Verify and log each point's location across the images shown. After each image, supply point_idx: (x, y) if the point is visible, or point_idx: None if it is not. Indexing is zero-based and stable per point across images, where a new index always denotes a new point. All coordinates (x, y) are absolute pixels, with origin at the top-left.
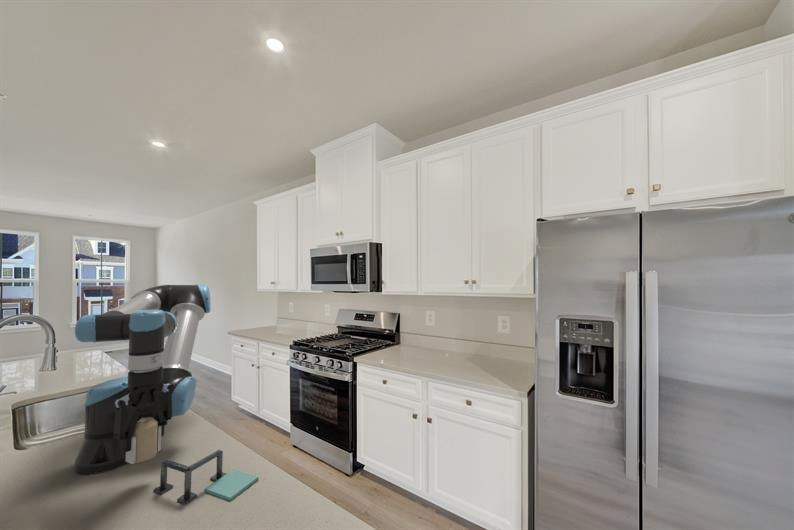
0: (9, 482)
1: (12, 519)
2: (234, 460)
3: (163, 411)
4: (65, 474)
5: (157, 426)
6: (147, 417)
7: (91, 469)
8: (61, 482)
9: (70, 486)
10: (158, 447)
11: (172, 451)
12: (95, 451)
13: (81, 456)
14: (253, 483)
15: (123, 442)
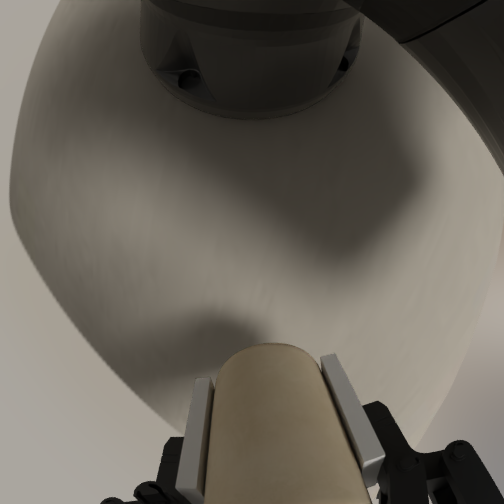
0: (60, 4)
1: (13, 207)
2: (433, 381)
3: (460, 497)
4: (129, 34)
5: (365, 481)
6: (466, 114)
7: (165, 85)
8: (104, 79)
9: (108, 128)
10: None
11: (410, 174)
12: (163, 46)
13: (140, 21)
14: None
15: (160, 481)
